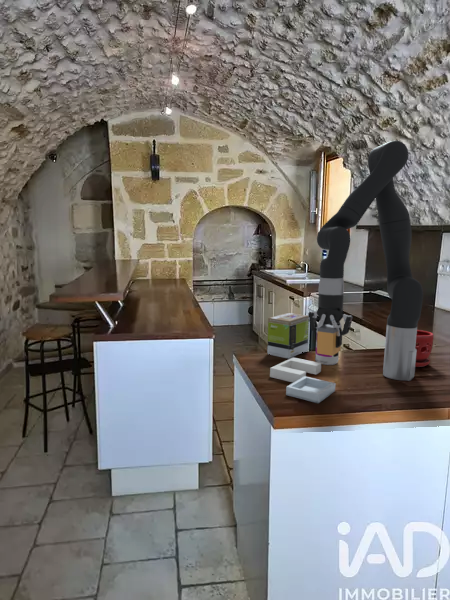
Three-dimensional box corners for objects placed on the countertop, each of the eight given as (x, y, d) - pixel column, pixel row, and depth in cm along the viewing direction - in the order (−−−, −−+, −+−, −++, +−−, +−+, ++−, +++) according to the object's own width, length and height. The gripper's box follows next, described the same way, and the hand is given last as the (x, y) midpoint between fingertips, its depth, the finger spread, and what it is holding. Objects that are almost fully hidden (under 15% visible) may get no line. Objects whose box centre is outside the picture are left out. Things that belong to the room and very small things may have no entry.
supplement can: (321, 366, 153) (324, 324, 151) (311, 359, 161) (313, 320, 159) (342, 364, 155) (345, 323, 153) (330, 358, 163) (333, 319, 161)
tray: (335, 391, 128) (335, 383, 128) (318, 403, 119) (318, 394, 118) (304, 383, 134) (304, 376, 134) (286, 394, 125) (286, 386, 124)
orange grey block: (340, 350, 137) (341, 326, 136) (332, 355, 131) (333, 330, 130) (325, 348, 140) (326, 324, 139) (316, 353, 134) (317, 328, 133)
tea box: (286, 347, 178) (288, 311, 176) (308, 351, 172) (310, 315, 170) (266, 354, 167) (267, 316, 165) (288, 359, 161) (290, 320, 158)
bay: (320, 371, 147) (321, 363, 146) (299, 384, 134) (300, 374, 133) (292, 365, 153) (292, 357, 152) (269, 376, 140) (270, 367, 140)
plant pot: (432, 362, 161) (435, 330, 160) (428, 371, 150) (431, 337, 148) (395, 356, 168) (397, 326, 166) (389, 364, 157) (391, 332, 155)
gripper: (358, 292, 132) (355, 347, 134) (314, 289, 140) (312, 340, 142) (349, 295, 126) (347, 352, 128) (304, 291, 134) (302, 345, 136)
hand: (328, 345), depth 135 cm, fingers closed on orange grey block, 5 cm apart
